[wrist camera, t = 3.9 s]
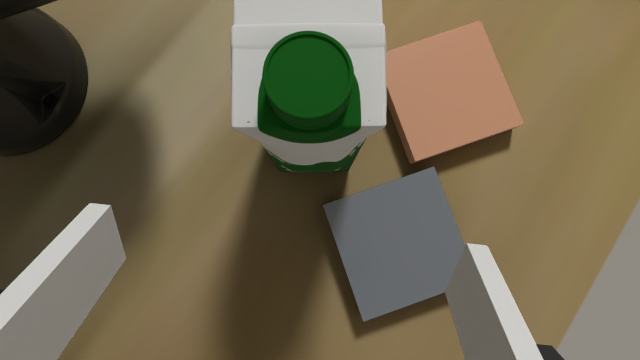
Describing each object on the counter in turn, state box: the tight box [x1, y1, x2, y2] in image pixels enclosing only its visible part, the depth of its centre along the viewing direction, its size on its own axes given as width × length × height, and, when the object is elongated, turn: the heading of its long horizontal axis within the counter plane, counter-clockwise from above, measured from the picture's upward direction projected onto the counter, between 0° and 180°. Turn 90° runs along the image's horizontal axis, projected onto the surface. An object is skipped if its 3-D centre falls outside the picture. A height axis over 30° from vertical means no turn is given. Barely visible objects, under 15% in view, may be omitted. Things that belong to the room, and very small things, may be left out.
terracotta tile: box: [386, 20, 524, 165], centre depth 35 cm, size 11×11×2 cm
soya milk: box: [231, 0, 387, 172], centre depth 25 cm, size 9×9×20 cm
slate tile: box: [323, 167, 465, 322], centre depth 33 cm, size 11×11×2 cm
